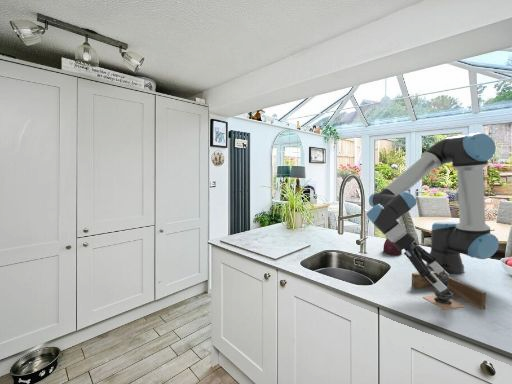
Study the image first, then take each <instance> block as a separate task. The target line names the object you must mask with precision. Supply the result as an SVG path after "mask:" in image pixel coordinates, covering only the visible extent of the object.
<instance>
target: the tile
mask: <svg viewBox="0 0 512 384" xmlns="http://www.w3.org/2000/svg"><path fill="white" fill-rule="evenodd" d="M436 297H437V296H436V295H435V294H433V295H426V296H425V295H424V296H422V298H423V299H424V300H427V301H428V302H430V303H432V304H433V305H435V306H437V307H438V308H440V309H442V310H443V311H444V310H452V309H458V308H465V307H466V305H463V304H462V303H460V302H458V301H457V300H454V299H453V298H451V299H449V300H450V301H451V302H452V304H450V305H445V304H441V303H438V302H436V301H435V300H434V298H436Z"/></svg>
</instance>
